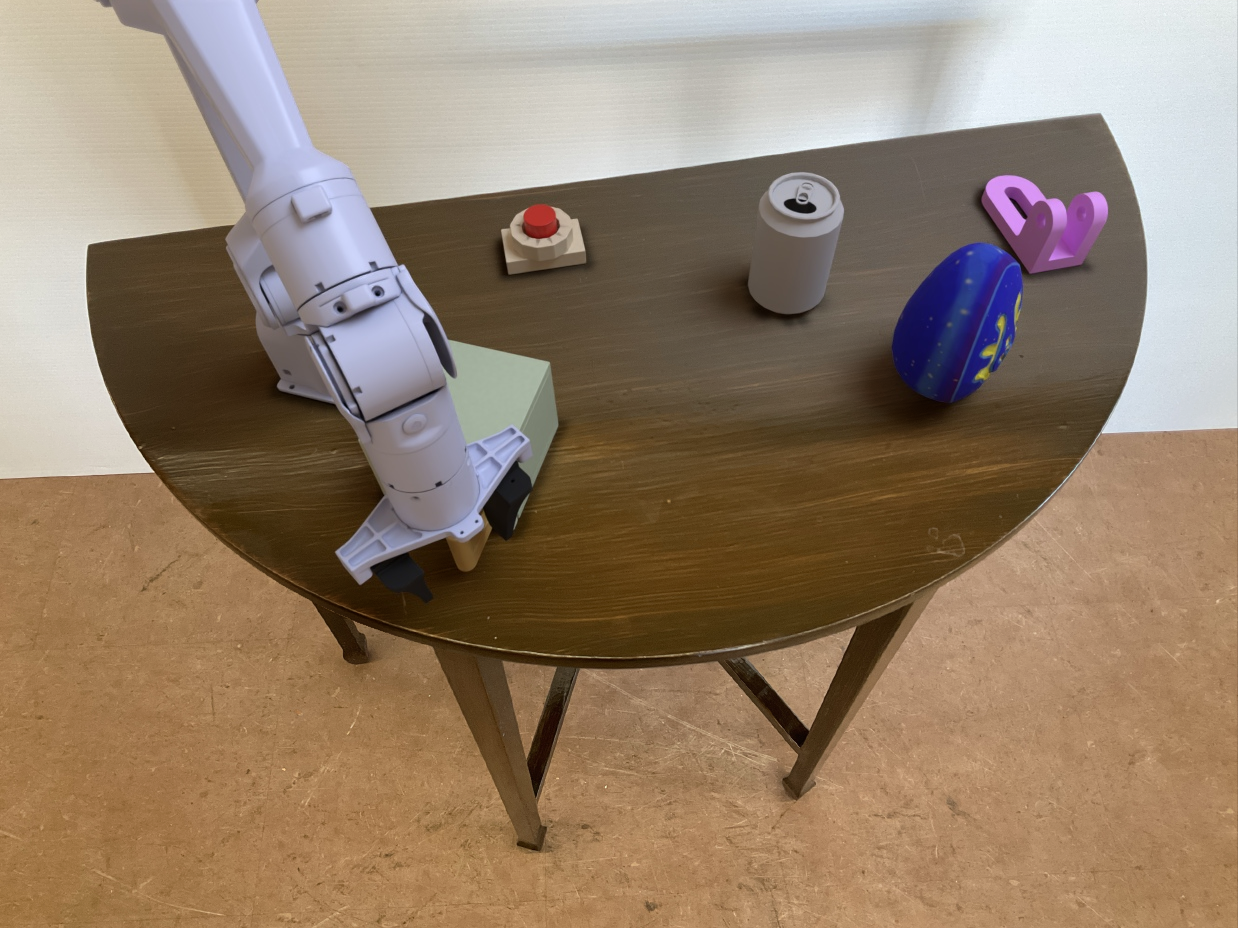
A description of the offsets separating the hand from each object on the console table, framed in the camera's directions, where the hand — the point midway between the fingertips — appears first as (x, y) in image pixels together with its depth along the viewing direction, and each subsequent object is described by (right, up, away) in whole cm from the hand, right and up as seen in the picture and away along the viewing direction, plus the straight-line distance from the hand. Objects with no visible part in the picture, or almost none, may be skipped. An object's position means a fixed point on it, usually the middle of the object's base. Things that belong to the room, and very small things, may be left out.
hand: (462, 560), depth 64 cm
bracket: (+54, +32, +25) cm, 67 cm away
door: (-3, +1, +6) cm, 7 cm away
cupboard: (-1, +8, +10) cm, 13 cm away
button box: (+4, +29, +24) cm, 38 cm away
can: (+28, +24, +21) cm, 42 cm away
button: (+4, +31, +22) cm, 38 cm away
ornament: (+40, +15, +14) cm, 45 cm away
